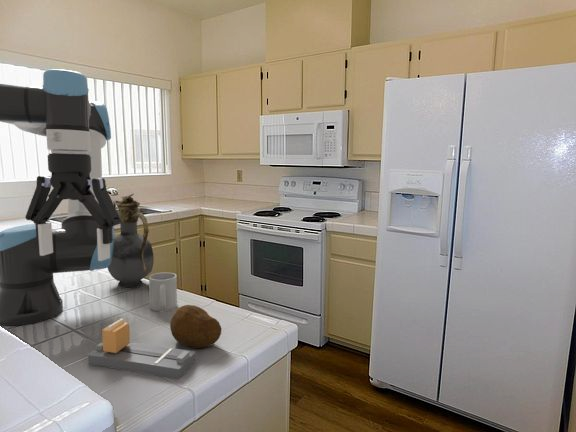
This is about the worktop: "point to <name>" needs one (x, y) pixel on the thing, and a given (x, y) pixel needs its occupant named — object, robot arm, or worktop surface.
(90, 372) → the worktop surface
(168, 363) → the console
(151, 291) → the cup
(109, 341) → the slider
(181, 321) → the potato
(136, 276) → the pitcher
